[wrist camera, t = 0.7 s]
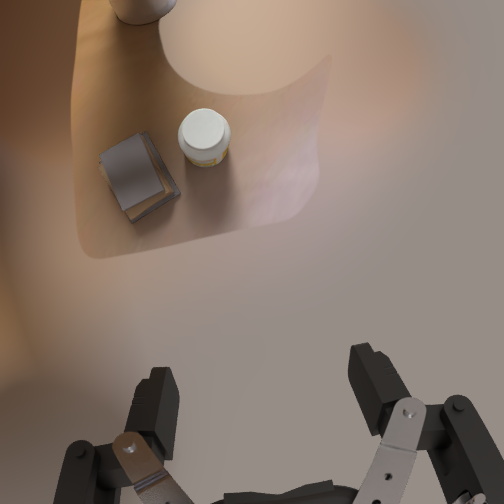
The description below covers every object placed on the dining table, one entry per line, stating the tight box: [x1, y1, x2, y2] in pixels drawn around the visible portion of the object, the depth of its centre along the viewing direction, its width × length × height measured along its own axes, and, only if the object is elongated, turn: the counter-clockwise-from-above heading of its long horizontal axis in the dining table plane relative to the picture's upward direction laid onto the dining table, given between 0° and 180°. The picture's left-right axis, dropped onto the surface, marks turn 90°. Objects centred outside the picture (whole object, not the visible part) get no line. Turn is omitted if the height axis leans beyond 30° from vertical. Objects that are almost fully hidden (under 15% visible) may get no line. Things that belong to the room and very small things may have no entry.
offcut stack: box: [98, 131, 181, 223], centre depth 33 cm, size 9×7×4 cm
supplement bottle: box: [178, 108, 231, 167], centre depth 31 cm, size 5×5×10 cm
